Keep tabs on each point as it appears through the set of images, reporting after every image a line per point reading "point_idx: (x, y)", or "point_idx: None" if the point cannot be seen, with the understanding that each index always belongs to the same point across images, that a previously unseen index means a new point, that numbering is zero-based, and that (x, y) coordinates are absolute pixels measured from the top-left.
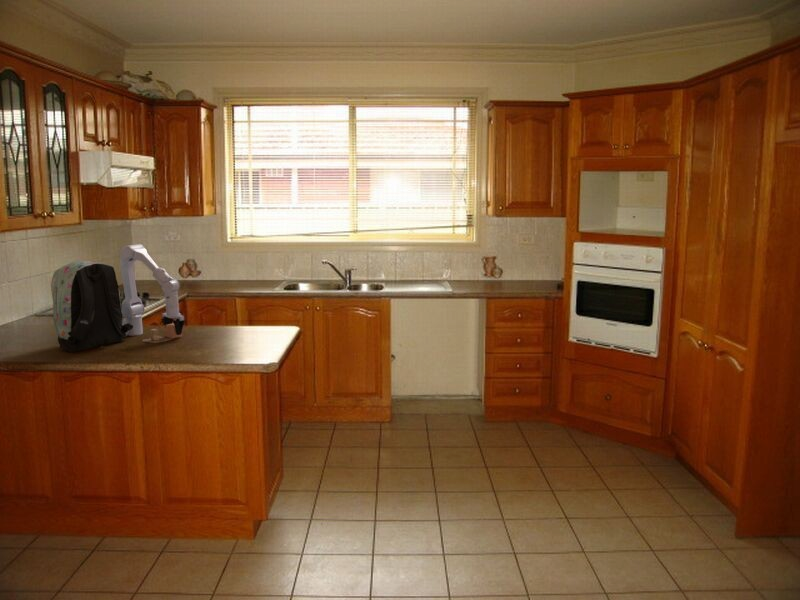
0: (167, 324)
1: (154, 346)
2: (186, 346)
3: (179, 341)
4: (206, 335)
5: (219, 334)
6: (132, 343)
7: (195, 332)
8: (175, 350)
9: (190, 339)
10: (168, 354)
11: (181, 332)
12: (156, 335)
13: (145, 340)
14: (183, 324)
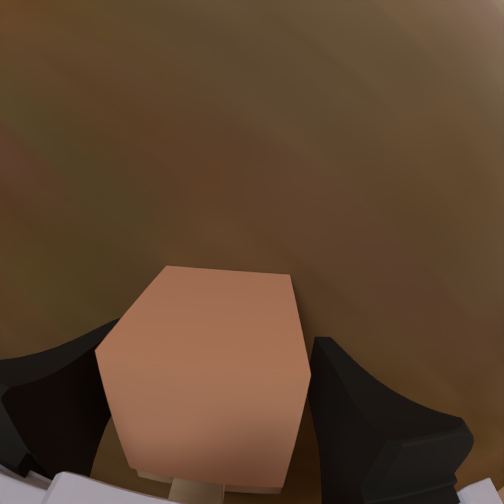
0: (125, 451)
1: (310, 492)
2: (487, 402)
3: (373, 373)
4: (421, 63)
5: (468, 3)
6: (139, 489)
7: (193, 17)
8: (466, 458)
9: (414, 275)
10: (463, 484)
11: (340, 349)
12: (223, 493)
13: (162, 476)
14: (409, 405)
